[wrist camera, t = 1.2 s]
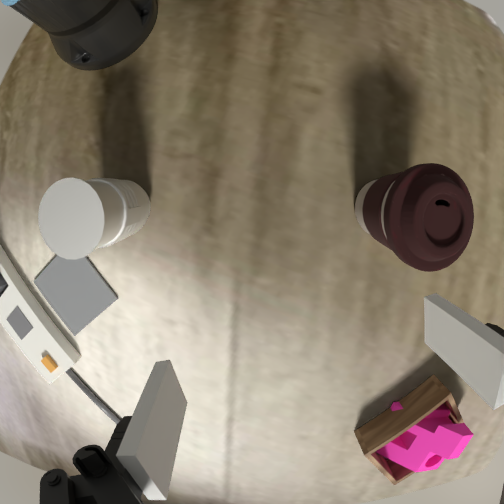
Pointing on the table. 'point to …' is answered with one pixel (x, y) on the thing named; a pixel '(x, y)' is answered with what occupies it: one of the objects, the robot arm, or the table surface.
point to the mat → (75, 291)
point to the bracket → (428, 441)
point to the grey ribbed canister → (90, 214)
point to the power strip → (38, 332)
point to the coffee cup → (418, 215)
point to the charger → (2, 284)
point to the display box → (404, 424)
